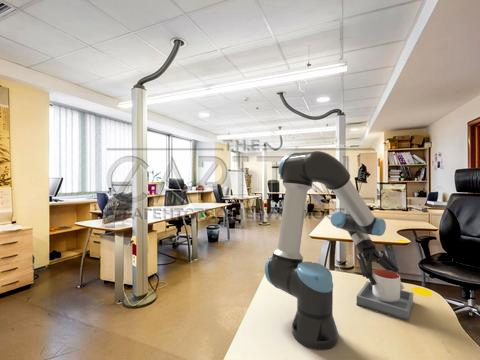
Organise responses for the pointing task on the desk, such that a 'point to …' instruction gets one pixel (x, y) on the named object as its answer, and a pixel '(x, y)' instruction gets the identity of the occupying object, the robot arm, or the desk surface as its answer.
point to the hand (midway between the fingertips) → (391, 290)
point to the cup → (387, 285)
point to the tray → (386, 303)
